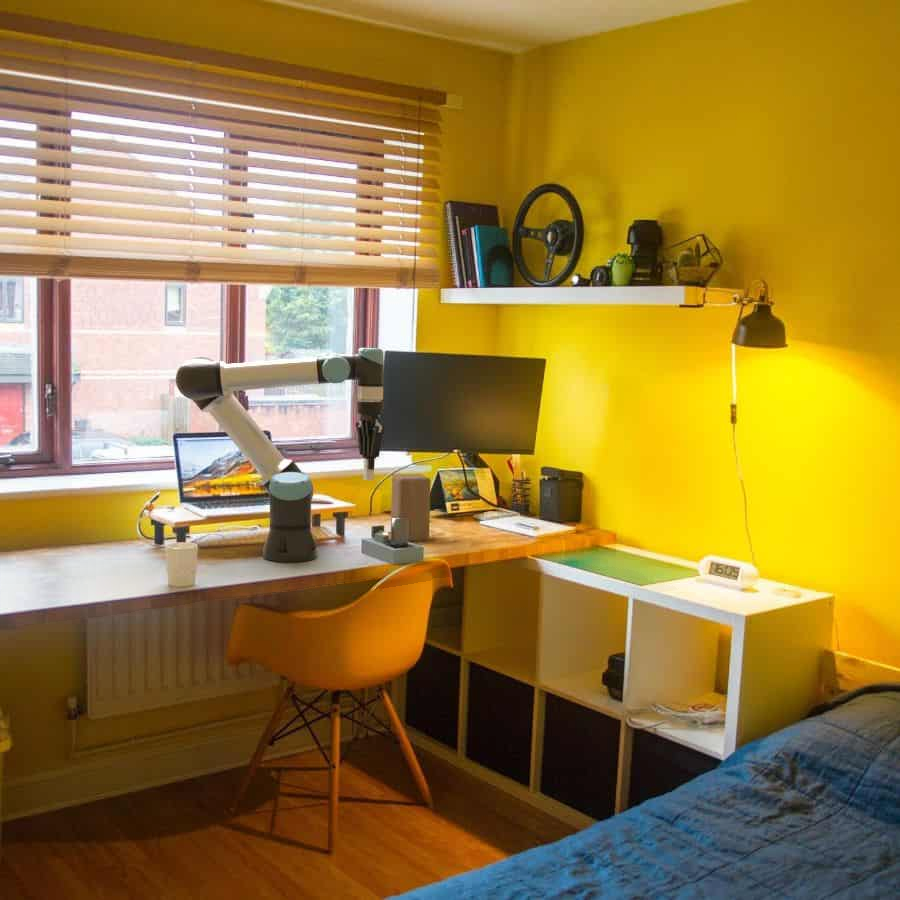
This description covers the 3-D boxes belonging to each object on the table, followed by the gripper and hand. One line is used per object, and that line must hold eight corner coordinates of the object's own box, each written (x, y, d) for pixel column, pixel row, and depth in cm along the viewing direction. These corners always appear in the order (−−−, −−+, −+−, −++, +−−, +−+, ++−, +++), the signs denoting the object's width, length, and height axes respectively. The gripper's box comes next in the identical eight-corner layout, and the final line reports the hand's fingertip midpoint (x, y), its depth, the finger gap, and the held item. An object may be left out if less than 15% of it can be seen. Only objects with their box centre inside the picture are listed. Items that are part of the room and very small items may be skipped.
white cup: (192, 579, 283) (192, 541, 282) (201, 586, 276) (201, 547, 275) (162, 582, 279) (162, 543, 278) (170, 589, 272) (169, 549, 271)
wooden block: (389, 536, 345) (391, 473, 342) (420, 535, 348) (421, 473, 346) (398, 543, 335) (400, 478, 333) (430, 541, 339) (431, 477, 336)
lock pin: (387, 543, 314) (387, 531, 314) (371, 537, 322) (371, 526, 321) (398, 542, 316) (398, 530, 316) (381, 536, 324) (382, 525, 323)
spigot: (387, 558, 313) (387, 517, 312) (401, 556, 316) (402, 515, 315) (396, 561, 309) (397, 520, 308) (411, 560, 312) (412, 518, 311)
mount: (393, 564, 306) (393, 542, 305) (361, 552, 321) (361, 531, 320) (423, 560, 311) (423, 539, 311) (390, 549, 326) (391, 528, 325)
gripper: (392, 402, 319) (391, 482, 322) (370, 398, 330) (368, 476, 332) (370, 402, 315) (368, 483, 318) (348, 399, 325) (347, 477, 328)
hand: (368, 479), depth 325 cm, fingers closed
